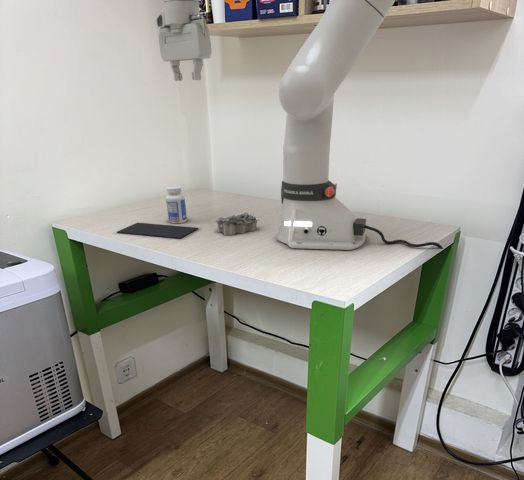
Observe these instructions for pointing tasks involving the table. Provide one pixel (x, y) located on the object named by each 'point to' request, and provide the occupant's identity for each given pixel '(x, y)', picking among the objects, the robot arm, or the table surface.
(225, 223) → the egg carton
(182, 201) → the pill bottle
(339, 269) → the table surface
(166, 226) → the mat
